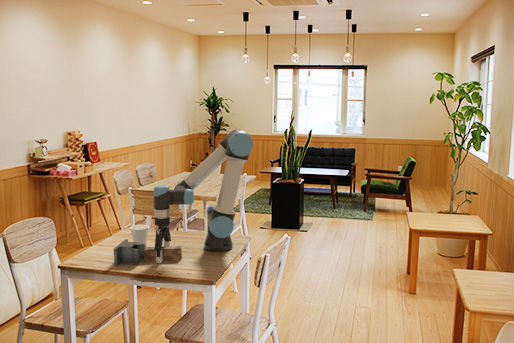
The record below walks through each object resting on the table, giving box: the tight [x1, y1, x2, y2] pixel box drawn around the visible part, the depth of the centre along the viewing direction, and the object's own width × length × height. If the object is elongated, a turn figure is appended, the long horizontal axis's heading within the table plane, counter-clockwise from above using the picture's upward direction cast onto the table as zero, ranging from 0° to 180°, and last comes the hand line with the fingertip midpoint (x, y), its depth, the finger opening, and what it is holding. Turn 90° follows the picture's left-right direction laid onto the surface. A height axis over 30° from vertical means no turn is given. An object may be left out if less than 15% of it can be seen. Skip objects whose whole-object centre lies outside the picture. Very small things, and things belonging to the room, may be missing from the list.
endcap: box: [113, 238, 146, 267], centre depth 250 cm, size 12×15×8 cm
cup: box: [129, 224, 150, 247], centre depth 272 cm, size 10×10×11 cm
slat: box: [144, 245, 183, 262], centre depth 253 cm, size 18×4×6 cm, turn 97°
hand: (163, 258), depth 254 cm, fingers open, 12 cm apart
